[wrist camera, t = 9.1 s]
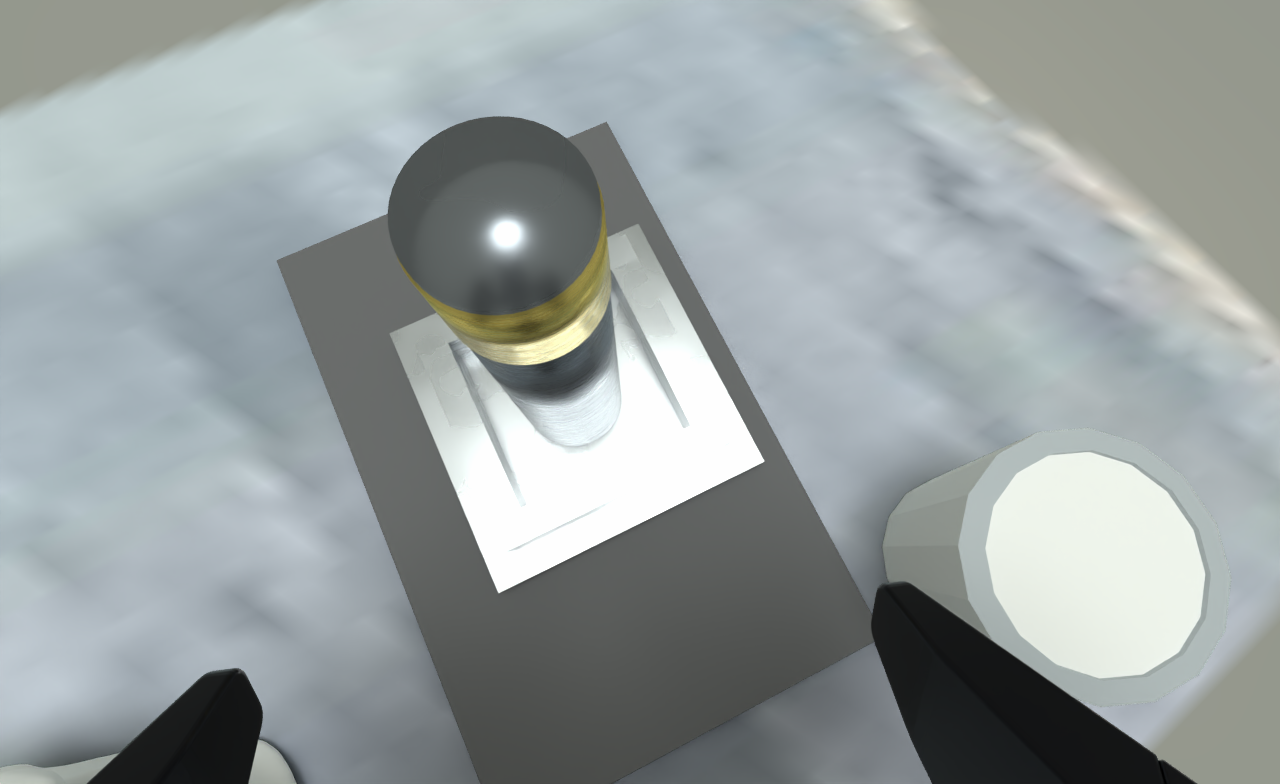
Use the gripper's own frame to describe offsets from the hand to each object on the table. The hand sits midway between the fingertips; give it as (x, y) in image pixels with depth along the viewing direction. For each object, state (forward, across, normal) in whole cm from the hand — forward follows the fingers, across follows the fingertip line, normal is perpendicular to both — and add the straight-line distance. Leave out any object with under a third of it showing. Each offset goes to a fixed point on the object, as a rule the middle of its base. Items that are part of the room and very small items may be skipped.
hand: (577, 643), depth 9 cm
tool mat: (+14, 0, +5) cm, 15 cm away
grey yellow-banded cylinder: (+14, 0, +4) cm, 14 cm away
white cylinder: (+10, -13, +9) cm, 19 cm away
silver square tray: (+14, 0, +4) cm, 15 cm away
